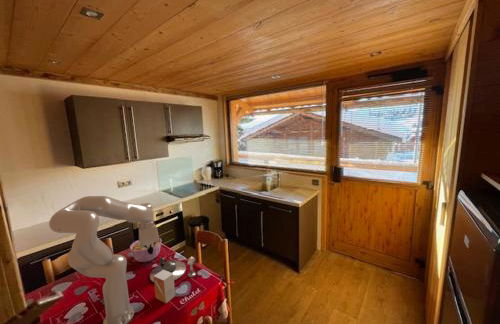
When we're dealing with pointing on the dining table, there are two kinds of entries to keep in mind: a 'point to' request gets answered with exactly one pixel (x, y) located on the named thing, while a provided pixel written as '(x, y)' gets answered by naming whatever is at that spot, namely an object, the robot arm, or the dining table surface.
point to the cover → (170, 265)
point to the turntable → (176, 274)
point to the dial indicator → (191, 266)
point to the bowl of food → (144, 251)
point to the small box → (164, 286)
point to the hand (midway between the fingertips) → (150, 253)
